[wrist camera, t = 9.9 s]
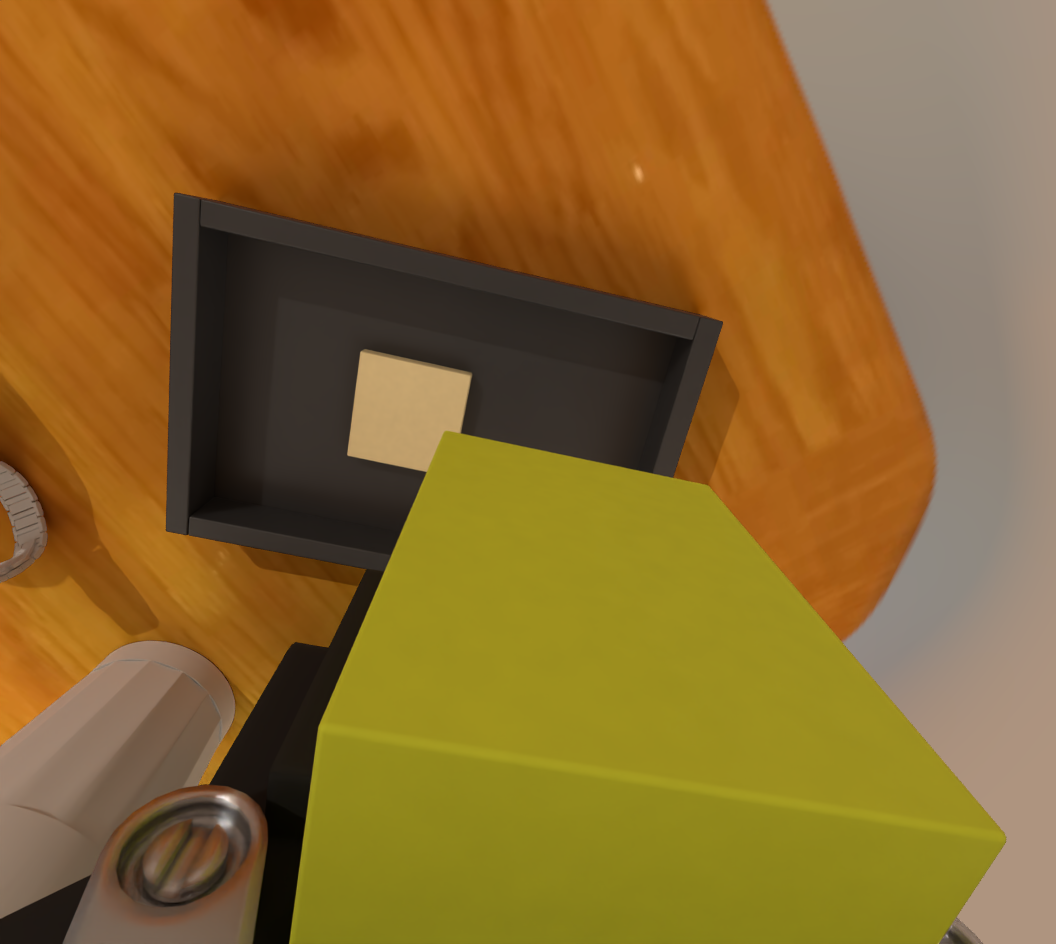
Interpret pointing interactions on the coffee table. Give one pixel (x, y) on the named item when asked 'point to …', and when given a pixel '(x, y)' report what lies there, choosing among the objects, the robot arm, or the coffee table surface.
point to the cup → (103, 762)
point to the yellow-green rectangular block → (615, 736)
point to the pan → (401, 330)
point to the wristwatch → (21, 522)
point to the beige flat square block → (404, 409)
